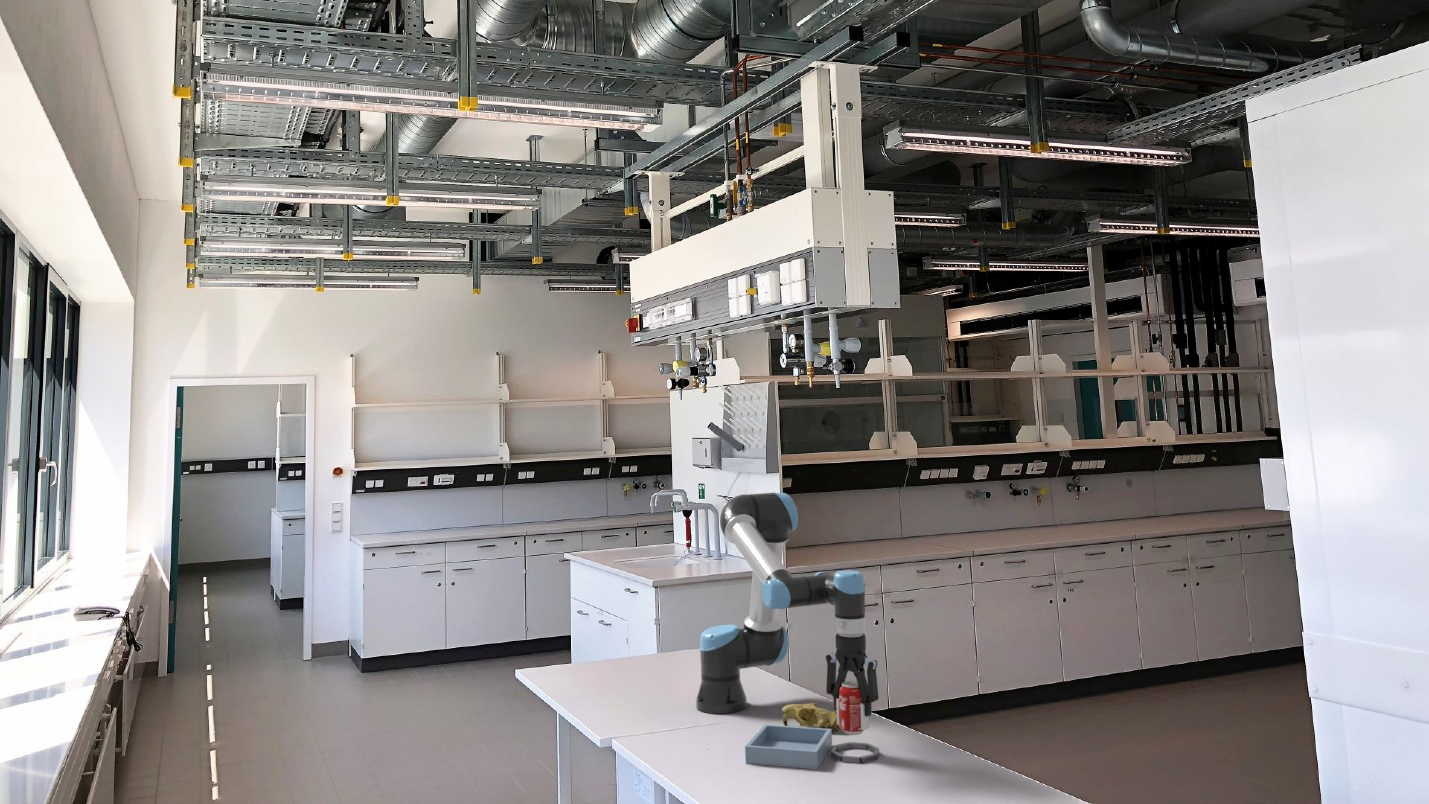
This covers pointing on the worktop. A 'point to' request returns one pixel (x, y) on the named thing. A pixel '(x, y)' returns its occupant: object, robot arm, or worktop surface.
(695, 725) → the worktop surface
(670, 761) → the worktop surface
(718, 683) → the robot arm
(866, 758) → the ring
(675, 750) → the worktop surface
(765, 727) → the bin
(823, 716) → the animal skull
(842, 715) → the beverage can
